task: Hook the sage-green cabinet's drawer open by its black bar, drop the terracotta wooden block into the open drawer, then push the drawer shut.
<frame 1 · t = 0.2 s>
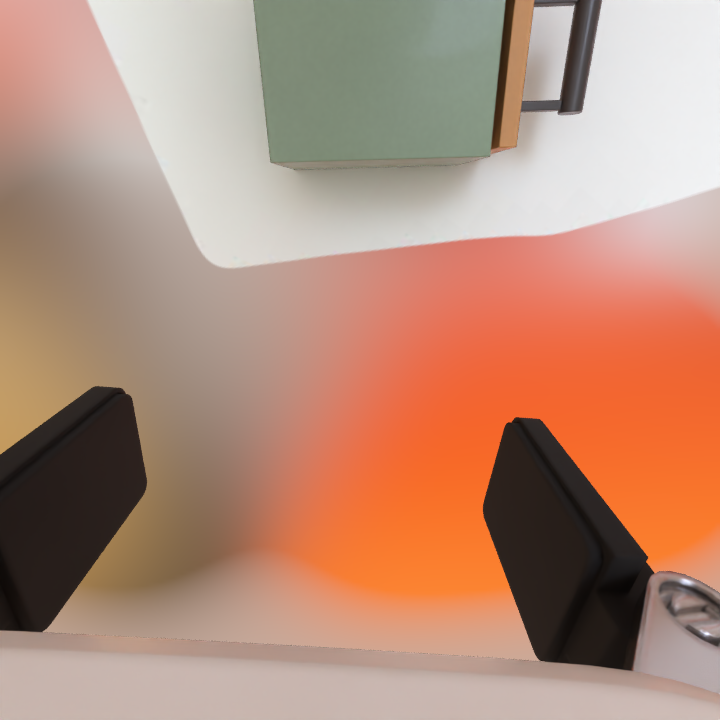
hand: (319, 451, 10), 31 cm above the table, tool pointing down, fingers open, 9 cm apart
cabinet: (374, 82, 32), on the table
drawer: (450, 62, 28), point 5 cm above the table, slide at 0.8 cm
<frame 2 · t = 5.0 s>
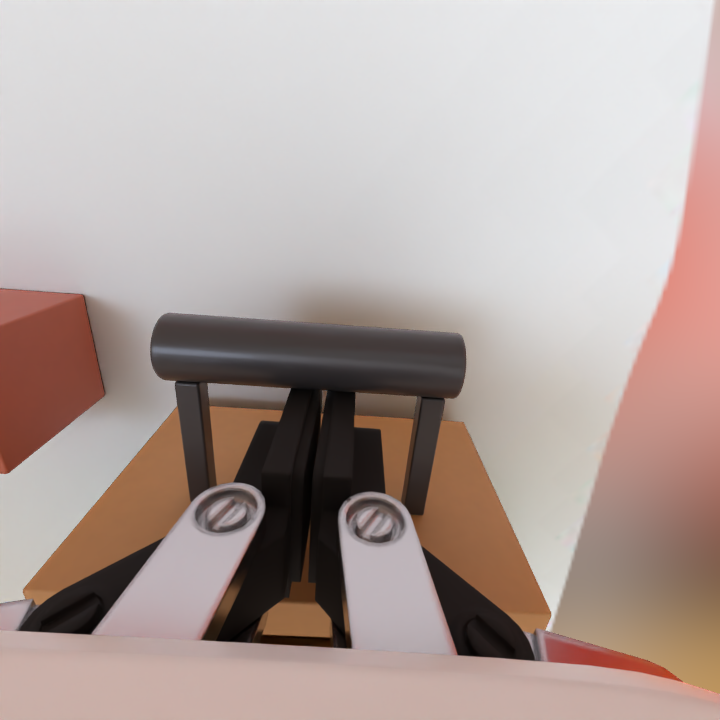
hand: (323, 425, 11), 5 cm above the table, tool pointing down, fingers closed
block: (39, 344, 15), on the table
drawer: (309, 570, 14), point 5 cm above the table, slide at 1.6 cm
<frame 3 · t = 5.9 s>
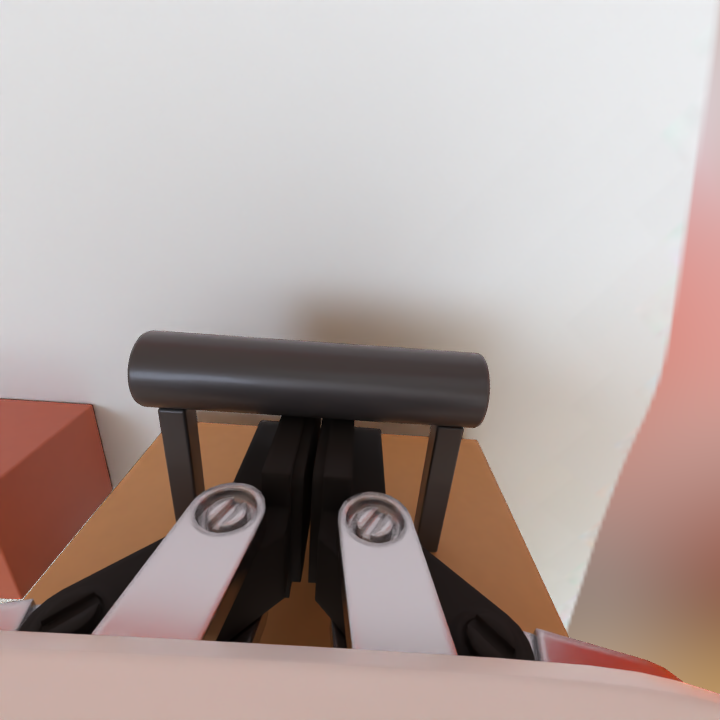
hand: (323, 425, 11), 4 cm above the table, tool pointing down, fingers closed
block: (50, 446, 16), on the table
drawer: (311, 603, 13), point 5 cm above the table, slide at 5.8 cm, touching gripper
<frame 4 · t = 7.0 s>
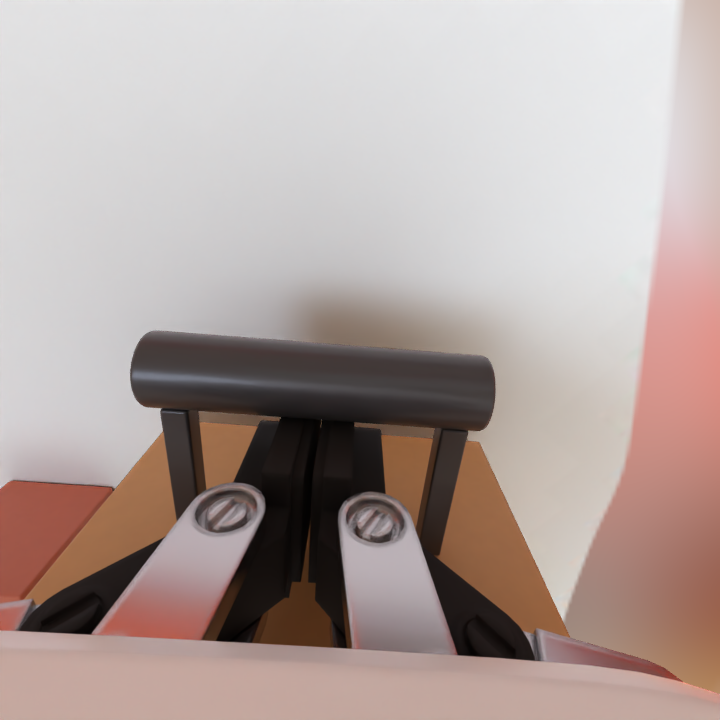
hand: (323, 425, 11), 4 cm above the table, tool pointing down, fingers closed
block: (72, 520, 18), on the table
drawer: (311, 605, 12), point 5 cm above the table, slide at 10.0 cm, touching gripper
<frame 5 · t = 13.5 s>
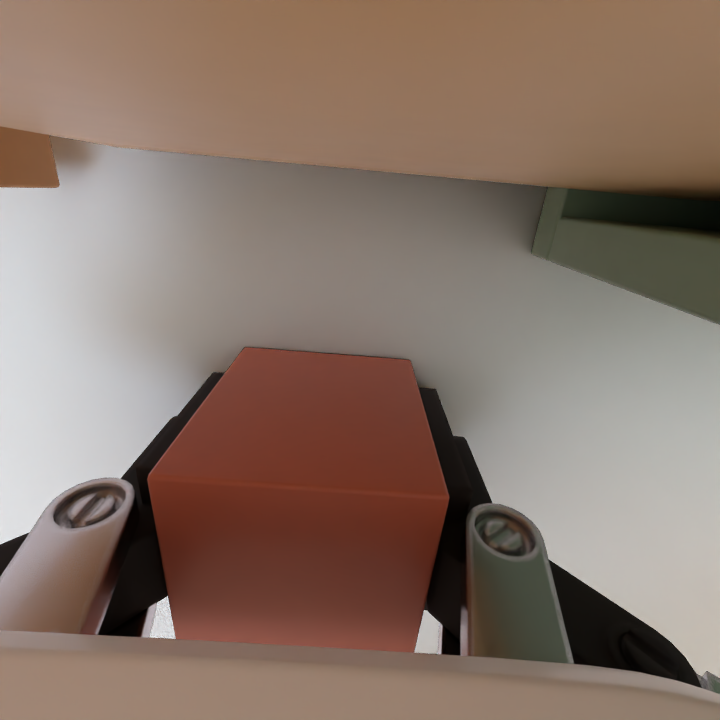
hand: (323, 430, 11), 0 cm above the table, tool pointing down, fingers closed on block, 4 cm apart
block: (324, 423, 11), on the table, touching gripper
when the fingers open (10 cm above the table, at t = 17.6 s): block drops 8 cm, resting on drawer.
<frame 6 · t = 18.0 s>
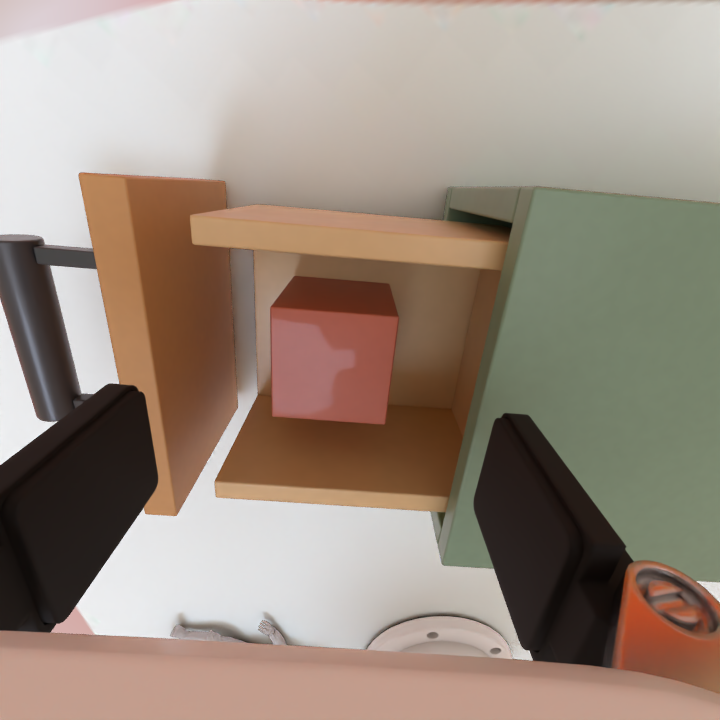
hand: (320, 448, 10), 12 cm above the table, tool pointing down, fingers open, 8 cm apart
block: (339, 324, 18), point 2 cm above the table, touching drawer
cabinet: (563, 329, 21), on the table
soldier figure: (245, 639, 32), on the table
drawer: (274, 341, 16), point 5 cm above the table, slide at 10.0 cm, touching block
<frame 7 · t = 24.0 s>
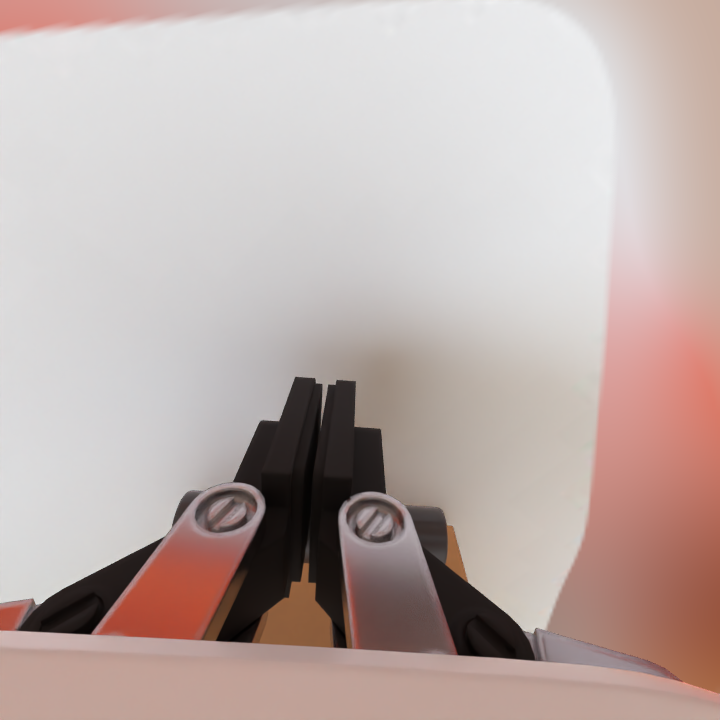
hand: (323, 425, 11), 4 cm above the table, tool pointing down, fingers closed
drawer: (307, 674, 15), point 5 cm above the table, slide at 9.6 cm, touching block, gripper
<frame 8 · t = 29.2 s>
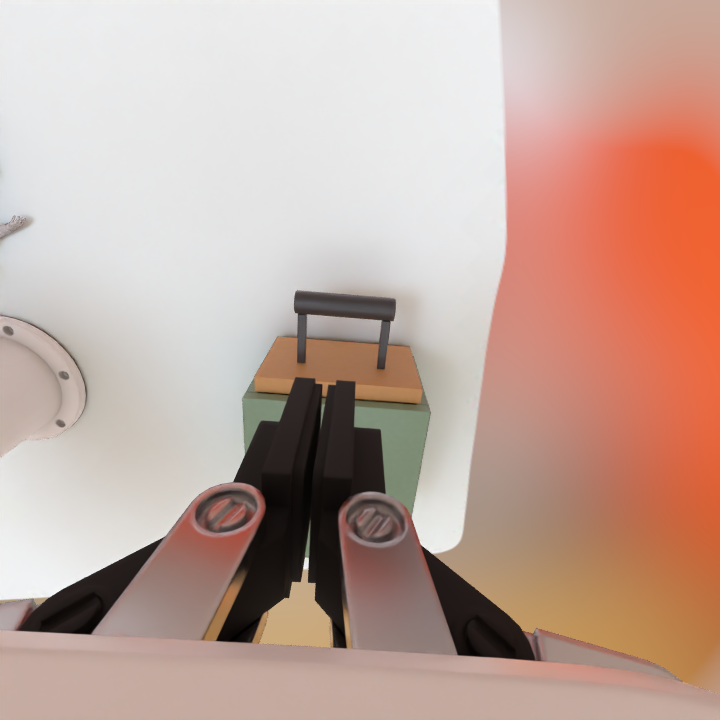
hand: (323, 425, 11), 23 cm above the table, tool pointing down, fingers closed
cabinet: (338, 419, 38), on the table
drawer: (338, 405, 32), point 5 cm above the table, slide at 0.0 cm, touching block
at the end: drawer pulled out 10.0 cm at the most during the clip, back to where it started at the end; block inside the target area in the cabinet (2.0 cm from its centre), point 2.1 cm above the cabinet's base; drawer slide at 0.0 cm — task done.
